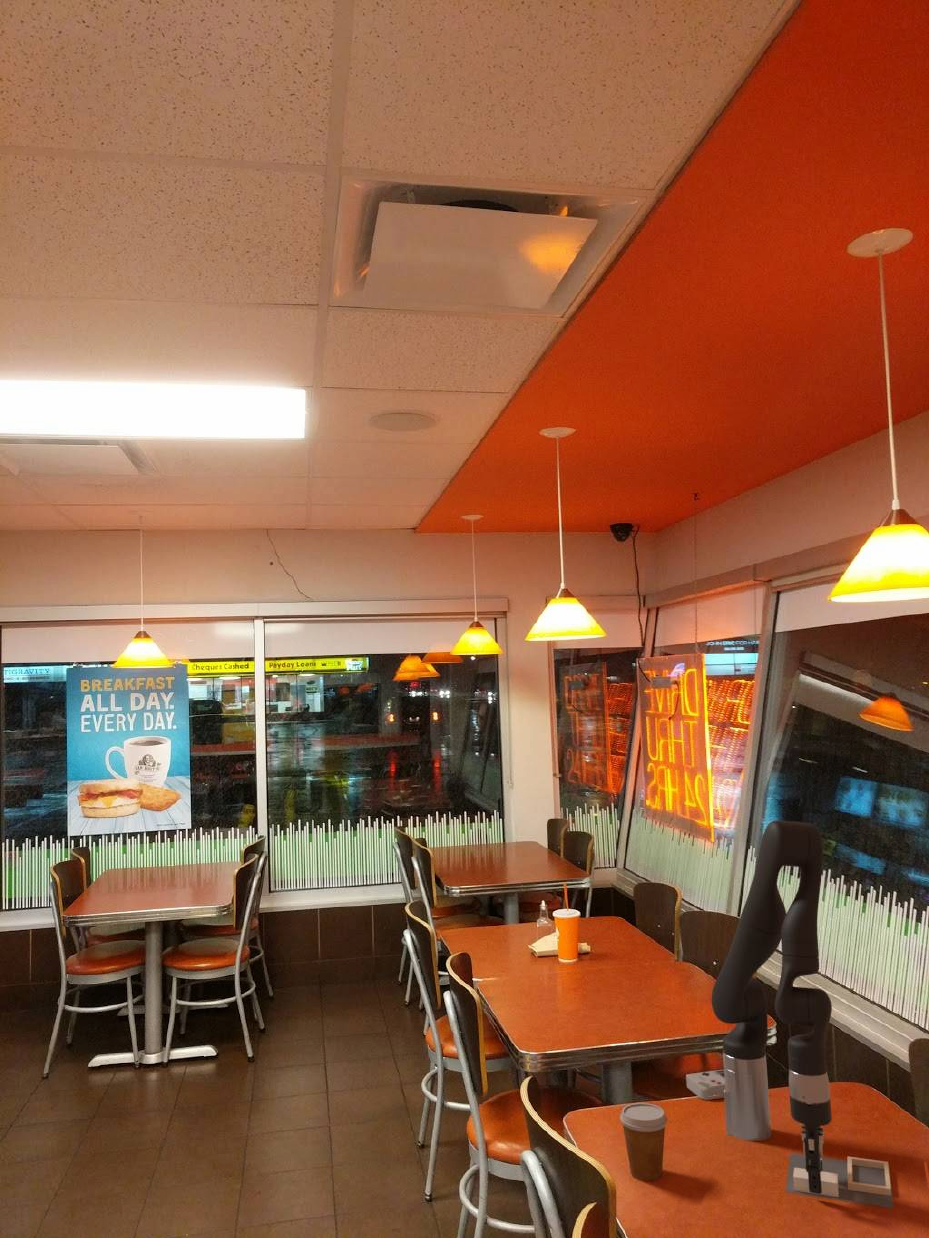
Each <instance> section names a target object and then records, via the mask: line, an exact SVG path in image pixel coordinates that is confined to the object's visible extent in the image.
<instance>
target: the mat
mask: <svg viewBox="0 0 929 1238" xmlns="http://www.w3.org/2000/svg"><path fill="white" fill-rule="evenodd" d="M846 1157H847V1160H843V1159H835V1158H829V1157H823V1159H822V1169H823V1170H822V1172H829V1173H836V1174H838V1184H839V1197H833V1196H826V1195H820V1194H813V1193H807V1192H800V1191H794V1182H793V1173H794V1168H801V1169H806V1168H805V1167H806V1158H805V1157H804V1154H800V1153H799V1154H798V1153H792V1152H790V1153H789V1160H788V1161H789V1162H788V1169H787V1177H786V1186H785V1187H786V1188H785V1193H788V1194H789V1193H790V1194H796V1195H801V1196H808V1197H809V1196H810V1197H815V1198H822V1199H829V1200H834V1201H840V1202H841V1201H842V1202H847V1203H854V1204H861V1205H866V1206H867V1205H868V1206H875V1207H881V1208H887V1209H893V1210H894V1209H895V1205H894V1197H893V1196H894V1195H893V1187H892V1179H891V1169H890V1167H891V1166H889V1161H883V1160H877V1159H868V1158H863V1157H861V1158H860V1157H856V1156H848V1155H847V1156H846ZM809 1162H810V1160H809Z"/></svg>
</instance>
